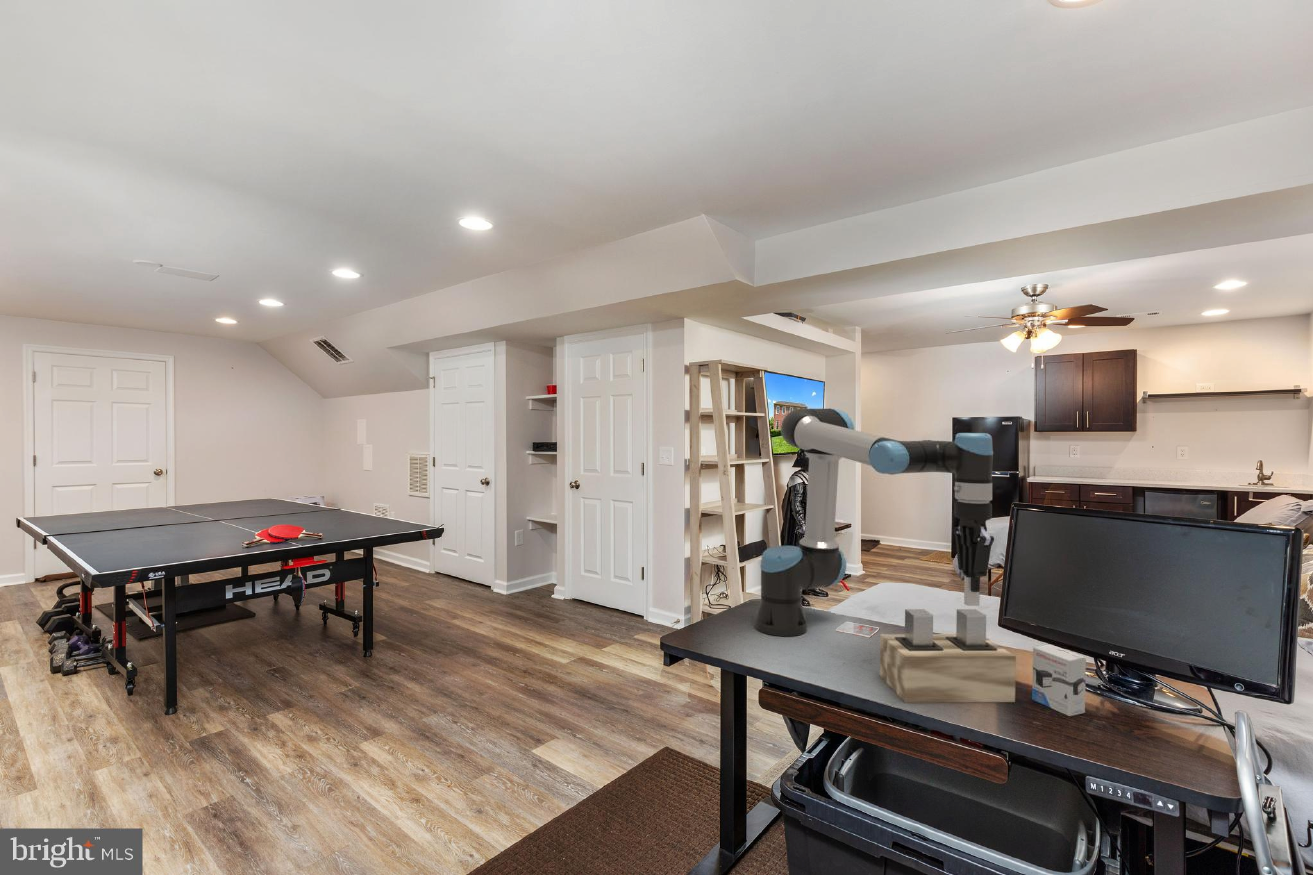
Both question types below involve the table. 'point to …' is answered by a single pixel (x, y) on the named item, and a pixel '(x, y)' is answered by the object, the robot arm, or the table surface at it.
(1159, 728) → the table surface
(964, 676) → the socket block
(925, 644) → the peg
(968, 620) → the peg
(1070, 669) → the ink box
